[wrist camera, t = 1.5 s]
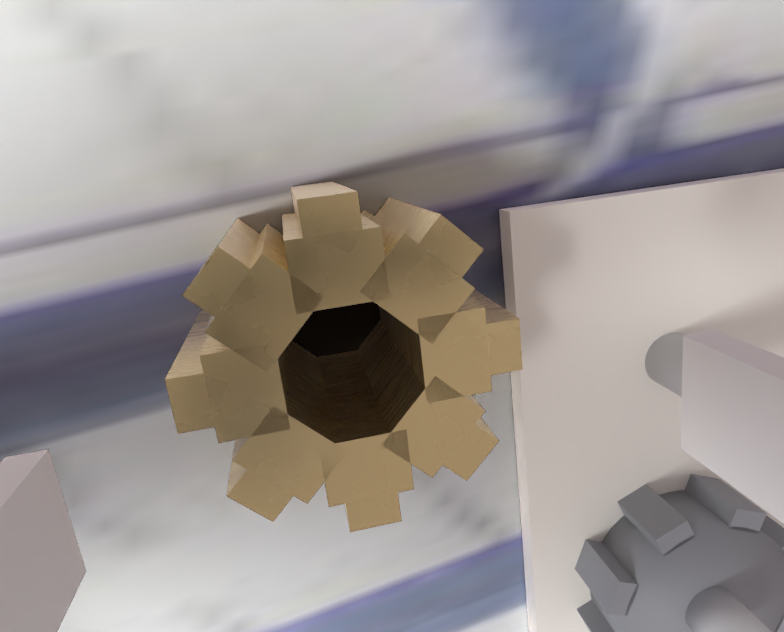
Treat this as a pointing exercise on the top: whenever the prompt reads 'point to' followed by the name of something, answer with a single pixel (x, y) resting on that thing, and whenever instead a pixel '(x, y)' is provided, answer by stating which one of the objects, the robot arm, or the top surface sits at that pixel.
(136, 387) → the top surface
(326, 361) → the brass gear
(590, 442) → the gear board
